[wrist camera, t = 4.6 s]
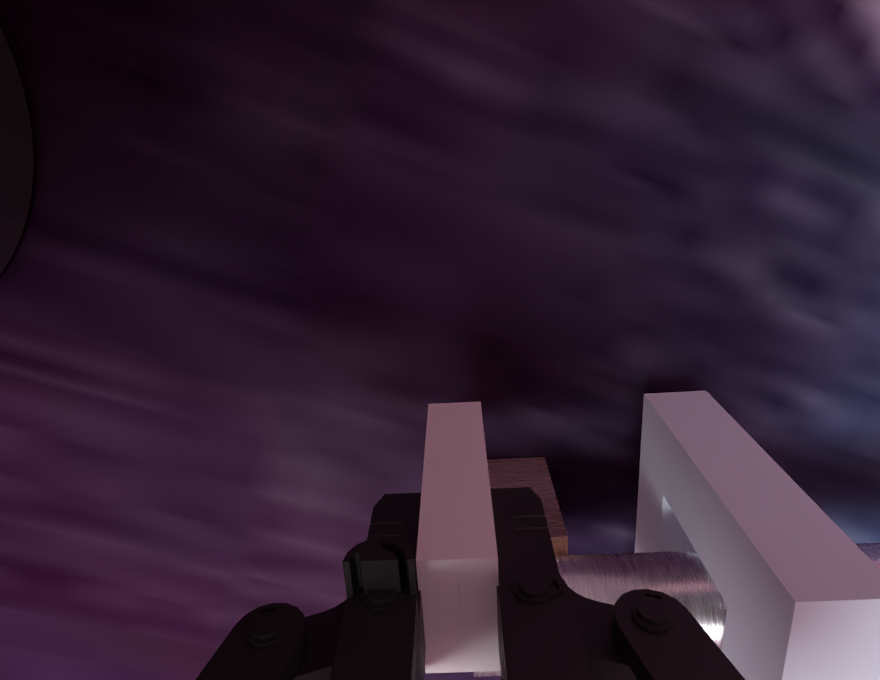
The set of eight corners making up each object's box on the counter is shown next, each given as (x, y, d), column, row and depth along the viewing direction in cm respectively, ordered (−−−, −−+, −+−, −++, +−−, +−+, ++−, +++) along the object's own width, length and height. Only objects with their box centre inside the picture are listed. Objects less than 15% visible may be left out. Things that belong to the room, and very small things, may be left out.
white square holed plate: (631, 610, 22) (741, 904, 14) (643, 393, 19) (795, 602, 11) (684, 608, 22) (828, 903, 14) (706, 390, 19) (907, 597, 11)
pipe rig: (467, 531, 23) (476, 718, 16) (462, 452, 22) (469, 615, 15) (1108, 503, 22) (1429, 687, 15) (1139, 420, 21) (1504, 576, 14)
